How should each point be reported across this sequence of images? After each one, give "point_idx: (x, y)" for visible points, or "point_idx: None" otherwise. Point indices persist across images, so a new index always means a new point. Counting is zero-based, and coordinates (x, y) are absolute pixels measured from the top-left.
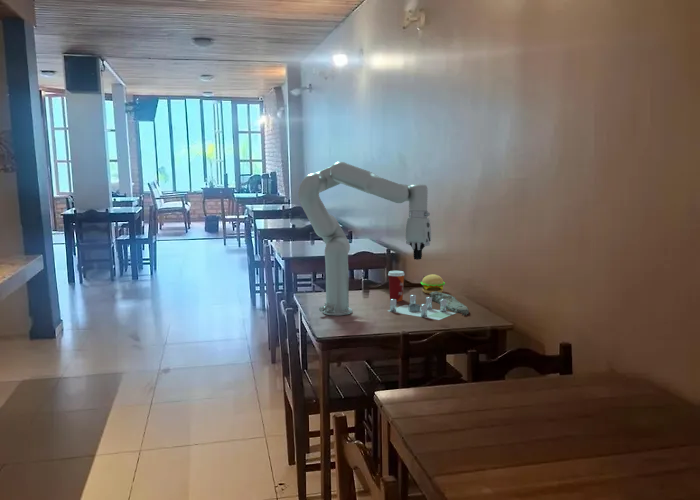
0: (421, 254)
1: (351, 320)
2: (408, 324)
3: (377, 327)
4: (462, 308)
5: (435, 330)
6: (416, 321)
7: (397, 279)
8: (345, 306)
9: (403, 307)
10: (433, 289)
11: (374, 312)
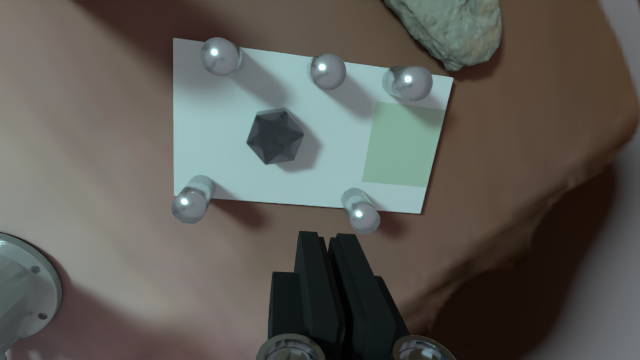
0: (388, 304)
1: (134, 338)
2: None
3: None
4: (483, 43)
5: (433, 292)
6: None
7: None
8: (23, 311)
9: (200, 99)
10: None
11: (123, 206)
